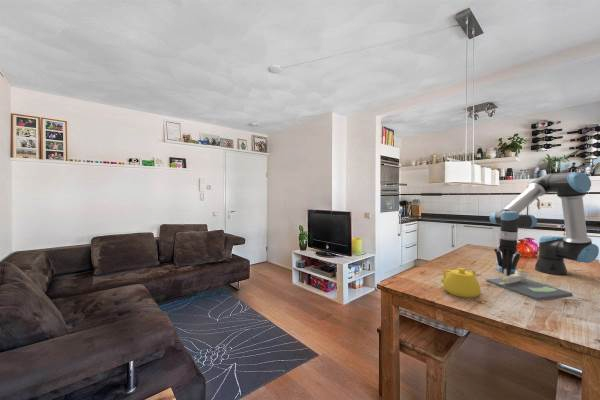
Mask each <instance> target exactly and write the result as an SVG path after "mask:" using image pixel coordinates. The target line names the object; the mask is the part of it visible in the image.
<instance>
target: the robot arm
mask: <svg viewBox="0 0 600 400" xmlns="http://www.w3.org/2000/svg"><path fill="white" fill-rule="evenodd" d="M591 187H592V181H591V178H590V177H589V175H587V174H586V173H584V172H580V171H577V172H576V171H575V172H574V171H571V172H570V171H569V172H556V173H555V172H554V173H547V174H544V175H542V176H540V177H537V178H536V179H535V180H533V181H531V183H528V185H527V186H526V188H525V190H523V191H522V192H521V193H520V194H518V195H517V196H516V197H515V198H514V199H513V200H512V201H511V202H509V203H508V204H507V205H505V206H504V208H502V209H501V210H500V211H495V212H494V211H493V212H491V213H490V214H489V221H490V222H491V223H492V224H494V225H499V226H500V234H499V246H498V247H497V248H494V249H493V250H494V253H495V257H496V256H497V261H498V265H499V266H500V267H502V272H501V273H502V277H503V276H508V275H512V273H511V270H512V269H515V268H516V266H517V267H518V263H519V260H520V258H521V257H522V256H523V254H522V253H520V252H518V249H517V247H518V232H519V229H531V228H535V227H536V226H537V223H538V219H537V218H536V216H534V215H532V214H520V213H521V212H522V211H524V210H525V209H526V208H527V207H529V205H531V204H532V203H533V202H534V201H535V200H537V199H538V198H539V197H543V196H544V195H546V194H548V193H556V194H557V195H556V197H558V198H560V200H561V205H562V207H561V208H562V213H563V215H562V216H563V223H564V229H565V236H560V235H559V236H557V235H556V236H554V235H553V236H552V235H548V236H541V237H540V238H539V242H538V244H539V246H538V258H537V261H536V263H535V265H534V270H535V271H538V272H540V273H541V272H542V273H546V274H550V275H557V276H566V275H568V269H567V267H566V264H565V259H566V260H570V261H575V262H578V263H585V264H590V263H593V262H594V261H595V260H596V259H597V258H598V256H599V254H600V253H599V252H600V249H599V246H598V245H597V244H595V243H593V239H592V238H590V237H588V233H587V231H588V230H587V226H586V224H587V223H586V215H585V208H584V200H583V199H584V198H583V197H585V196H586V194H587V192H589V191H590V190H591ZM501 252H502V256H501ZM514 254H515V257H514V260H513V262H512V258H513V255H514Z"/></svg>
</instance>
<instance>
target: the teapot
mask: <svg viewBox="0 0 600 400" xmlns="http://www.w3.org/2000/svg"><path fill="white" fill-rule="evenodd" d="M447 272H448V273H447ZM476 272H477V271H476V270H475V269H472V270H470V271H467V269H466V268H463V267H458V268H457V269H452V270H451V269H449V268H446V269H444V270H443V271H442V276H443V278H441V283H442V284H443V285H442V286H443V288H444V290H445V291H446V292H447V293H448V294H450V295H452V294H453V295H452V296H456V297H458V298H463V299H473V298H477V297H478V296H479V295H480V294H481V290H482V289H481V286H480V283H479V281H478V280H477V278H476ZM446 273H447V274H446Z"/></svg>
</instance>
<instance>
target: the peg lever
mask: <svg viewBox="0 0 600 400" xmlns="http://www.w3.org/2000/svg"><path fill="white" fill-rule="evenodd" d="M501 278H502V282H504V283H507V284H509V283H513V282H517V281H520V282H526V279H527V271H526V270H523V269H518V268H517V270H515V273H511V275H508V276H503V275H502V277H501Z"/></svg>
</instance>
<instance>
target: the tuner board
mask: <svg viewBox="0 0 600 400" xmlns="http://www.w3.org/2000/svg"><path fill="white" fill-rule="evenodd" d="M485 281H486V283H489V284H492V285H495V286H497V287H500V288H502V289H505V290H508V291H511V292H513V293H516V294H519V295H522V296H524V297H526V296H527V297H526V298H528V299H529V298H530V299H531V300H535V301H540V300H541V301H542V300H547V299H548V300H549V299H555V298H556V299H557V298H564V297H571V296H573V292H570V291H567V290H563V289H561V288H557V287H554V286H551V285H548V284H545V283H542V282H538V281H534V280H532V279H528V278H526V282H520V281H517V282H513V283H509V284H507V283H504V282H502V277H496V278H489V279H486V280H485Z"/></svg>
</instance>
